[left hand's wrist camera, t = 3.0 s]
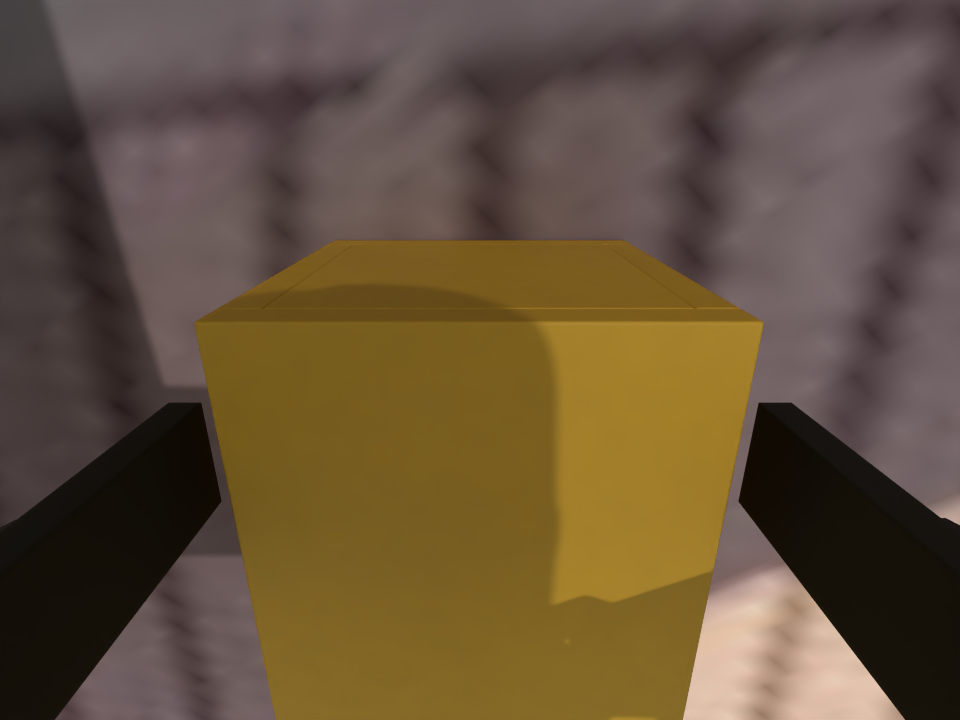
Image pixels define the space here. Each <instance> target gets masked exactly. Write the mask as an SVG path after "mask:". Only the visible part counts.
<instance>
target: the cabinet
mask: <svg viewBox="0 0 960 720" xmlns="http://www.w3.org/2000/svg"><path fill="white" fill-rule="evenodd" d="M195 330H196V335H197V339H198V344H199V349H200V354H201V359H202V364H203V369H204V373H205V378H206V383H207V388H208V393H209V398H210V403H211V407H212V412H213V417H214V422H215V427H216V432H217V437H218V441H219V446H220V451H221V456H222V461H223V466H224V470H225V475H226V480H227V485H228V490H229V495H230V500H231V504H232V509H233V514H234V519H235V524H236V529H237V534H238V538H239V543H240V548H241V553H242V558H243V563H244V568H245V572H246V577H247V582H248V587H249V592H250V597H251V601H252V606H253V611H254V616H255V621H256V626H257V631H258V635H259V640H260V645H261V650H262V655H263V660H264V665H265V669H266V674H267V679H268V684H269V689H270V694H271V699H272V703H273V708H274V713H275V718H276V720H683V716H684V711H685V706H686V701H687V696H688V691H689V687H690V682H691V677H692V672H693V667H694V662H695V657H696V652H697V647H698V643H699V638H700V633H701V628H702V623H703V618H704V613H705V608H706V603H707V599H708V594H709V589H710V584H711V579H712V574H713V569H714V564H715V559H716V555H717V550H718V545H719V540H720V535H721V530H722V525H723V520H724V516H725V511H726V506H727V501H728V496H729V491H730V486H731V481H732V476H733V472H734V467H735V462H736V457H737V452H738V447H739V442H740V437H741V432H742V428H743V423H744V418H745V413H746V408H747V403H748V398H749V393H750V388H751V384H752V379H753V374H754V369H755V364H756V359H757V354H758V349H759V345H760V340H761V335H762V330H763V322H762V321H761V320H759V319H757V318H756V317H754V316H752V315H750V314H749V313H747V312H745V311H744V310H742V309H739V308H738V307H736V306H735V305H733V304H731V303H729V302H728V301H726V300H724V299H723V298H721V297H719V296H718V295H716V294H714V293H712V292H711V291H709V290H707V289H706V288H704V287H702V286H701V285H699V284H697V283H695V282H694V281H692V280H690V279H689V278H687V277H685V276H684V275H682V274H680V273H679V272H677V271H675V270H673V269H672V268H670V267H668V266H667V265H665V264H663V263H662V262H660V261H658V260H656V259H655V258H653V257H651V256H650V255H648V254H646V253H645V252H643V251H641V250H640V249H638V248H636V247H634V246H633V245H631V244H629V243H628V242H626V241H624V240H335V241H333V242H331V243H330V244H328V245H326V246H324V247H322V248H321V249H319V250H317V251H316V252H314V253H312V254H310V255H309V256H307V257H305V258H304V259H302V260H300V261H298V262H297V263H295V264H293V265H292V266H290V267H288V268H286V269H285V270H283V271H281V272H280V273H278V274H276V275H274V276H273V277H271V278H269V279H268V280H266V281H264V282H262V283H261V284H259V285H257V286H256V287H254V288H252V289H251V290H249V291H247V292H245V293H244V294H242V295H240V296H239V297H237V298H235V299H233V300H232V301H230V302H228V303H227V304H225V305H223V306H221V307H220V308H219V309H217V310H215V311H213V312H211V313H209V314H208V315H206V316H204V317H203V318H201V319H199V320H197V321H196V322H195Z"/></svg>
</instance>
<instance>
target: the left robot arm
mask: <svg viewBox="0 0 960 720" xmlns="http://www.w3.org/2000/svg"><path fill="white" fill-rule="evenodd" d="M220 503H221V496H220V492H219V487H218V482H217V477H216V472H215V467H214V462H213V458H212V453H211V448H210V443H209V438H208V433H207V428H206V423H205V419H204V414H203V409H202V404H201V403H168V404H166V405H165V406H164V407H163V408H161V409H160V410H159V411H157V412H156V413H155V414H154V415H152V416H151V417H150V418H148V419H147V420H146V421H144V422H143V423H142V424H141V425H139V426H138V427H137V428H135V429H134V430H133V431H131V432H130V433H129V434H128V435H126V436H125V437H124V438H122V439H121V440H120V441H118V442H117V443H116V444H115V445H113V446H112V447H111V448H109V449H108V450H107V451H106V452H104V453H103V454H102V455H100V456H99V457H98V458H96V459H95V460H94V461H93V462H91V463H90V464H89V465H87V466H86V467H85V468H83V469H82V470H81V471H80V472H78V473H77V474H76V475H74V476H73V477H72V478H70V479H69V480H68V481H67V482H65V483H64V484H63V485H61V486H60V487H59V488H58V489H56V490H55V491H54V492H52V493H51V494H50V495H48V496H47V497H46V498H45V499H43V500H42V501H41V502H39V503H38V504H37V505H35V506H34V507H33V508H32V509H30V510H29V511H28V512H26V513H25V514H24V515H23V516H21V517H20V518H19V519H17V520H14V521H12V522H10V523H8V524H6V525H4V526H2V527H1V528H0V720H55V719H56V717H57V716H58V715H59V714H60V712H61V711H62V710H63V708H64V707H65V706H66V704H67V703H68V702H69V700H70V699H71V698H72V696H73V695H74V694H75V693H76V691H77V690H78V689H79V687H80V686H81V685H82V683H83V682H84V681H85V679H86V678H87V677H88V676H89V674H90V673H91V672H92V670H93V669H94V668H95V666H96V665H97V664H98V662H99V661H100V660H101V659H102V657H103V656H104V655H105V653H106V652H107V651H108V649H109V648H110V647H111V645H112V644H113V643H114V641H115V640H116V639H117V638H118V636H119V635H120V634H121V632H122V631H123V630H124V628H125V627H126V626H127V624H128V623H129V622H130V621H131V619H132V618H133V617H134V615H135V614H136V613H137V611H138V610H139V609H140V607H141V606H142V605H143V603H144V602H145V601H146V600H147V598H148V597H149V596H150V594H151V593H152V592H153V590H154V589H155V588H156V586H157V585H158V584H159V583H160V581H161V580H162V579H163V577H164V576H165V575H166V573H167V572H168V571H169V569H170V568H171V567H172V566H173V564H174V563H175V562H176V560H177V559H178V558H179V556H180V555H181V554H182V552H183V551H184V550H185V548H186V547H187V546H188V545H189V543H190V542H191V541H192V539H193V538H194V537H195V535H196V534H197V533H198V531H199V530H200V529H201V528H202V526H203V525H204V524H205V522H206V521H207V520H208V518H209V517H210V516H211V514H212V513H213V512H214V511H215V509H216V508H217V507H218V505H219V504H220ZM739 503H740V504H741V505H742V507H743V508H744V509H745V511H746V512H747V513H748V514H749V516H750V517H751V518H752V520H753V521H754V522H755V524H756V525H757V526H758V528H759V529H760V530H761V531H762V533H763V534H764V535H765V537H766V538H767V539H768V541H769V542H770V543H771V545H772V546H773V547H774V548H775V550H776V551H777V552H778V554H779V555H780V556H781V558H782V559H783V560H784V562H785V563H786V564H787V566H788V567H789V568H790V569H791V571H792V572H793V573H794V575H795V576H796V577H797V579H798V580H799V581H800V583H801V584H802V585H803V586H804V588H805V589H806V590H807V592H808V593H809V594H810V596H811V597H812V598H813V600H814V601H815V602H816V603H817V605H818V606H819V607H820V609H821V610H822V611H823V613H824V614H825V615H826V617H827V618H828V619H829V621H830V622H831V623H832V624H833V626H834V627H835V628H836V630H837V631H838V632H839V634H840V635H841V636H842V638H843V639H844V640H845V641H846V643H847V644H848V645H849V647H850V648H851V649H852V651H853V652H854V653H855V655H856V656H857V657H858V659H859V660H860V661H861V662H862V664H863V665H864V666H865V668H866V669H867V670H868V672H869V673H870V674H871V676H872V677H873V678H874V679H875V681H876V682H877V683H878V685H879V686H880V687H881V689H882V690H883V691H884V693H885V694H886V695H887V696H888V698H889V699H890V700H891V702H892V703H893V704H894V706H895V707H896V708H897V710H898V711H899V712H900V714H901V715H902V716H903V717H904V719H905V720H960V525H958V524H956V523H954V522H952V521H950V520H948V519H946V518H940V517H939V516H937V515H936V514H935V513H934V512H932V511H931V510H930V509H928V508H927V507H926V506H925V505H923V504H922V503H921V502H919V501H918V500H917V499H915V498H914V497H913V496H912V495H910V494H909V493H908V492H906V491H905V490H904V489H902V488H901V487H900V486H899V485H897V484H896V483H895V482H893V481H892V480H891V479H890V478H888V477H887V476H886V475H884V474H883V473H882V472H880V471H879V470H878V469H877V468H875V467H874V466H873V465H871V464H870V463H869V462H867V461H866V460H865V459H864V458H862V457H861V456H860V455H858V454H857V453H856V452H854V451H853V450H852V449H851V448H849V447H848V446H847V445H845V444H844V443H843V442H842V441H840V440H839V439H838V438H836V437H835V436H834V435H832V434H831V433H830V432H829V431H827V430H826V429H825V428H823V427H822V426H821V425H819V424H818V423H817V422H816V421H814V420H813V419H812V418H810V417H809V416H808V415H806V414H805V413H804V412H803V411H801V410H800V409H799V408H797V407H796V406H795V405H794V404H792V403H759V404H758V409H757V414H756V419H755V423H754V428H753V433H752V438H751V443H750V448H749V453H748V457H747V462H746V467H745V472H744V477H743V482H742V487H741V492H740V496H739Z"/></svg>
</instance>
